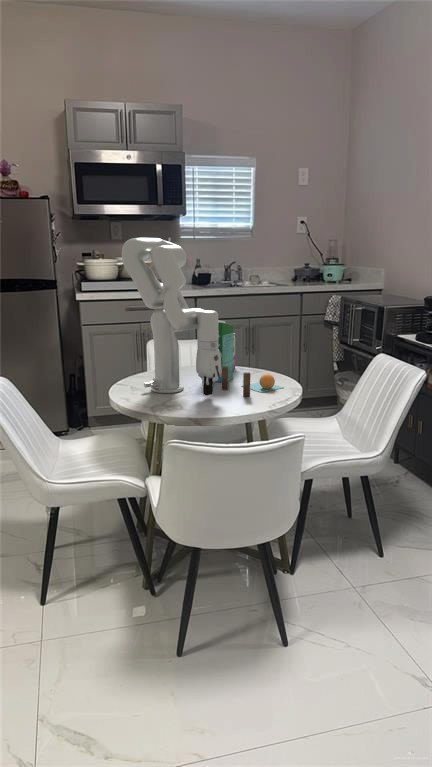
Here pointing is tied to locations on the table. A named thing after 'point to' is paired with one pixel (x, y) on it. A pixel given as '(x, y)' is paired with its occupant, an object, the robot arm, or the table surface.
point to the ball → (267, 381)
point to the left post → (224, 377)
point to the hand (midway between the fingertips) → (208, 394)
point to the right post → (246, 384)
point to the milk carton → (225, 347)
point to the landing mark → (258, 388)
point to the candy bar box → (233, 351)
